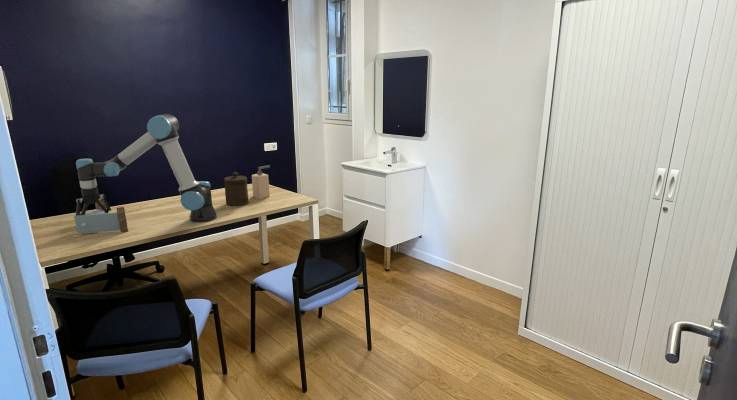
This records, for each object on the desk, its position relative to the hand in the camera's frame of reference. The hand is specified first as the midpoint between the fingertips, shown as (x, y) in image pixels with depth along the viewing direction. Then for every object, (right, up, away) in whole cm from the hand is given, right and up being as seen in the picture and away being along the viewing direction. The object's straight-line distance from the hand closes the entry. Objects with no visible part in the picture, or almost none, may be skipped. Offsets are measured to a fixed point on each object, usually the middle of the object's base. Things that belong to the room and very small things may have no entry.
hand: (96, 225), depth 225 cm
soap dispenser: (+75, +17, +71) cm, 105 cm away
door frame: (+4, 0, +7) cm, 8 cm away
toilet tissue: (-1, -1, 0) cm, 1 cm away
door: (+6, -3, -5) cm, 8 cm away
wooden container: (+62, +12, +52) cm, 82 cm away
